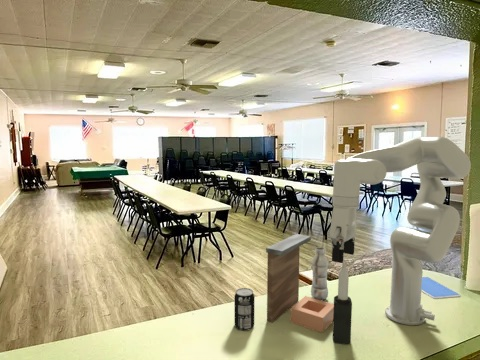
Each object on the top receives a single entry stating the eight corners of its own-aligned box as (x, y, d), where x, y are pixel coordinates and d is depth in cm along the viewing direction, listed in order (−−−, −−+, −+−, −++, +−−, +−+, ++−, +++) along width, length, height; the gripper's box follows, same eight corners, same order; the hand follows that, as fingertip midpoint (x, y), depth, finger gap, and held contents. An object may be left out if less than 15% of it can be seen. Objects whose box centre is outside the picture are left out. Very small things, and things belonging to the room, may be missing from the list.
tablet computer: (461, 297, 140) (462, 294, 140) (433, 300, 138) (434, 297, 137) (427, 279, 159) (427, 276, 159) (402, 281, 157) (402, 278, 156)
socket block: (335, 318, 123) (336, 304, 122) (322, 332, 113) (323, 317, 113) (305, 309, 129) (305, 296, 129) (290, 322, 120) (290, 308, 119)
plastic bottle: (321, 304, 133) (322, 252, 131) (307, 298, 138) (308, 248, 136) (331, 299, 137) (332, 249, 135) (317, 293, 142) (318, 245, 140)
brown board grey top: (309, 303, 134) (310, 236, 131) (281, 328, 116) (282, 251, 113) (294, 299, 137) (296, 233, 134) (265, 322, 119) (266, 247, 117)
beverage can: (244, 319, 122) (244, 285, 121) (258, 326, 117) (258, 291, 116) (230, 326, 117) (230, 291, 116) (244, 333, 113) (244, 297, 111)
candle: (350, 345, 106) (353, 264, 104) (333, 343, 107) (336, 263, 105) (349, 335, 111) (352, 259, 109) (332, 334, 112) (334, 258, 110)
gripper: (343, 197, 114) (340, 248, 115) (322, 203, 100) (320, 262, 101) (367, 199, 109) (364, 253, 111) (348, 207, 95) (345, 268, 97)
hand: (343, 257), depth 106 cm, fingers open, 9 cm apart
